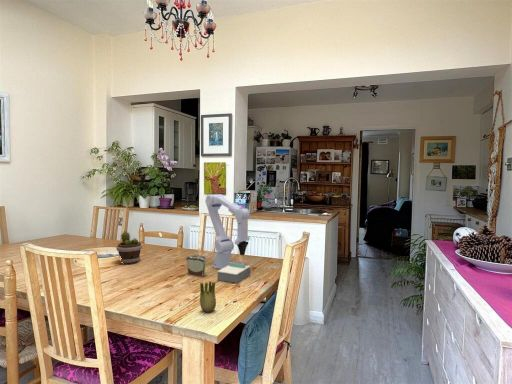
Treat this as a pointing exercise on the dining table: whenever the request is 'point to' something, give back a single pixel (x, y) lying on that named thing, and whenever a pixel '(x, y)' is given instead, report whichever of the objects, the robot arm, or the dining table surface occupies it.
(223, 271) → the lid
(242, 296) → the dining table surface
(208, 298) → the fennel bulb
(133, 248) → the flowerpot
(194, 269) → the food container
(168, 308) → the dining table surface
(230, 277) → the grey sliding-lid box
